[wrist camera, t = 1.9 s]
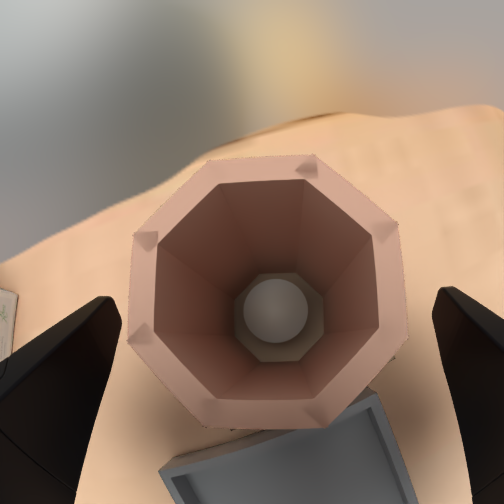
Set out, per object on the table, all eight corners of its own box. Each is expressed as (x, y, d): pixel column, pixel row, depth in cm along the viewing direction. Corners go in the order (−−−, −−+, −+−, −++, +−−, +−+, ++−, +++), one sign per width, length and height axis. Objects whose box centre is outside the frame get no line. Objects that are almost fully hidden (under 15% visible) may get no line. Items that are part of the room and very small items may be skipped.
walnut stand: (389, 357, 16) (426, 363, 11) (234, 425, 15) (213, 457, 11) (319, 210, 18) (328, 166, 13) (172, 275, 18) (133, 252, 13)
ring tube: (199, 317, 16) (84, 286, 7) (276, 238, 17) (259, 115, 7) (299, 414, 14) (311, 517, 5) (377, 331, 15) (492, 316, 5)
